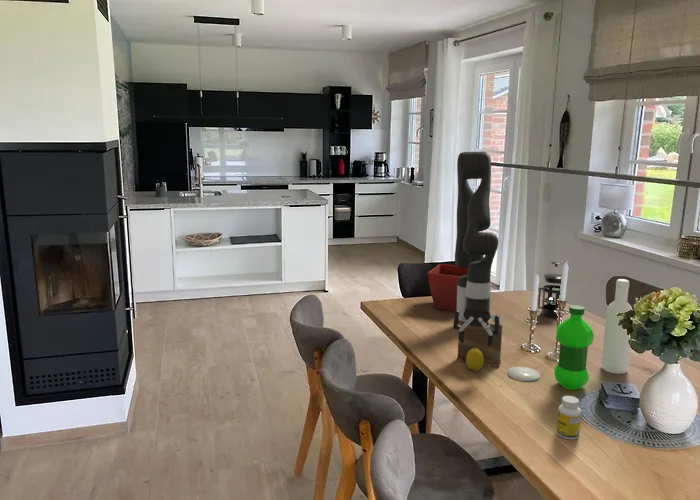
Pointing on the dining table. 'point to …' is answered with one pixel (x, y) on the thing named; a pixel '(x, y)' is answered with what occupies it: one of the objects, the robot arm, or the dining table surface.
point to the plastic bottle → (573, 349)
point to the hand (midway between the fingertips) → (475, 343)
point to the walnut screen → (480, 344)
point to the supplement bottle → (569, 418)
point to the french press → (550, 294)
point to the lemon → (475, 359)
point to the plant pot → (445, 285)
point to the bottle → (616, 332)
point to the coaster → (523, 374)
